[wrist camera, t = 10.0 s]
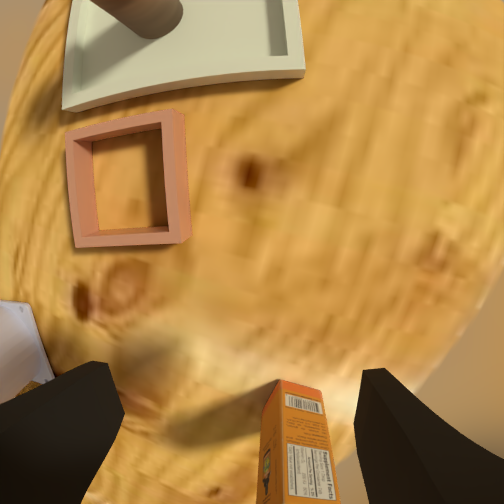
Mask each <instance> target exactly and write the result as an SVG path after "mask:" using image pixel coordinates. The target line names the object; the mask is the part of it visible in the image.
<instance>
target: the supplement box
mask: <svg viewBox="0 0 504 504" xmlns="http://www.w3.org/2000/svg"><path fill="white" fill-rule="evenodd" d="M256 504H341V503H340V496H339V491H338V484H337V477H336V472H335V465H334V459H333V453H332V448H331V442H330V436H329V430H328V425H327V419H326V414H325V409H324V403H323V398H322V393H321V391H320V390H317V389H313V388H310V387H306V386H302V385H299V384H295V383H291V382H288V381H284V380H279V382H278V383H277V385H276V387H275V389H274V390H273V392H272V394H271V396H270V397H269V399H268V401H267V403H266V405H265V407H264V408H263V411H262V420H261V435H260V451H259V466H258V482H257V498H256Z"/></svg>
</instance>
